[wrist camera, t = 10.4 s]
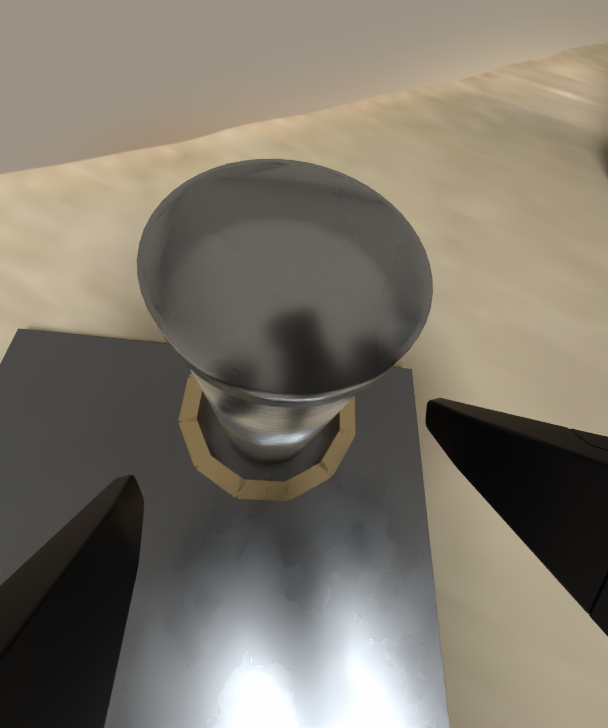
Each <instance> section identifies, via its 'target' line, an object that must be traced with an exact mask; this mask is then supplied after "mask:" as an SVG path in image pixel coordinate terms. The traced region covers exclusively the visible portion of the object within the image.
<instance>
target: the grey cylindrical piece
mask: <svg viewBox="0 0 608 728" xmlns="http://www.w3.org/2000/svg"><path fill="white" fill-rule="evenodd" d="M137 274H138V280H139V285H140V289H141V293H142V296H143V298H144V301H145V303H146V306H147V308H148V310H149V312H150V314H151V315H152V317H153V319H154V320H155V322H156V324H157V325H158V327H159V329H160V330H161V332H162V333H163V335H164V337H165V338H166V340H167V342H168V343H169V345H170V347H171V348H172V350H173V351H174V352H175V353H176V355H177V356H178V357H179V358H180V359H181V361H182V362H183V363H184V364H185V365H186V366H187V367H188V368H190V370H191V372H192V374H193V375H194V377H195V379H196V381H197V382H198V384H199V386H200V388H201V389H202V391H203V393H204V395H205V396H206V398H207V400H208V402H209V403H210V405H211V407H212V409H213V410H214V412H215V414H216V416H217V418H218V419H219V421H220V423H221V425H222V426H223V428H224V430H225V432H226V433H227V435H228V437H229V439H230V440H231V442H232V444H233V445H234V447H235V448H236V449H237V450H238V451H239V452H240V453H241V454H242V455H243V456H245V457H246V458H248V459H250V460H252V461H255V462H258V463H263V464H276V463H280V462H284V461H286V460H289V459H290V458H292V457H294V456H295V455H297V454H298V453H299V452H300V451H301V450H302V449H303V448H304V447H305V446H306V445H307V444H308V443H309V442H310V441H311V440H312V439H313V438H314V437H315V436H316V435H317V434H318V433H319V432H320V431H321V430H322V429H323V428H324V427H325V426H326V425H327V424H328V423H329V422H330V421H331V420H332V419H333V418H334V417H335V416H336V414H337V413H338V412H339V411H340V410H341V409H342V408H343V407H344V406H345V405H346V404H347V403H348V402H349V401H350V400H351V399H352V398H353V397H354V396H355V395H356V394H357V393H358V392H360V391H362V390H364V389H365V388H367V387H368V386H369V385H371V384H372V383H374V382H375V381H377V380H378V379H379V378H380V377H381V376H382V375H383V374H384V373H385V372H386V371H387V370H388V369H389V368H390V367H392V366H393V365H394V364H395V363H396V362H397V361H398V360H399V359H400V358H401V357H402V356H403V355H404V354H405V353H406V352H407V351H408V350H409V349H410V348H411V346H412V345H413V344H414V342H415V341H416V340H417V338H418V337H419V335H420V333H421V331H422V329H423V327H424V326H425V324H426V321H427V318H428V315H429V312H430V308H431V302H432V295H433V285H432V274H431V268H430V264H429V260H428V257H427V254H426V251H425V249H424V247H423V245H422V243H421V241H420V239H419V237H418V235H417V234H416V232H415V231H414V229H413V228H412V226H411V225H410V223H409V222H408V221H407V220H406V219H405V217H404V216H403V215H402V214H401V213H400V212H399V211H398V210H397V209H396V208H395V207H394V206H393V205H392V204H391V203H390V202H389V201H387V200H386V199H385V198H384V197H383V196H381V195H380V194H379V193H377V192H376V191H374V190H373V189H371V188H370V187H368V186H367V185H365V184H363V183H361V182H359V181H358V180H356V179H354V178H352V177H350V176H347V175H345V174H343V173H340V172H338V171H335V170H332V169H329V168H326V167H323V166H319V165H315V164H311V163H307V162H300V161H294V160H283V159H256V160H246V161H240V162H235V163H230V164H226V165H223V166H219V167H216V168H213V169H210V170H208V171H206V172H203V173H201V174H199V175H197V176H195V177H193V178H191V179H190V180H188V181H186V182H184V183H183V184H182V185H180V186H179V187H178V188H176V189H175V190H174V191H172V192H171V193H170V194H169V195H168V196H167V197H166V198H165V199H164V200H163V201H162V202H161V203H160V204H159V206H158V207H157V208H156V210H155V211H154V212H153V214H152V215H151V217H150V219H149V221H148V223H147V224H146V226H145V228H144V231H143V234H142V237H141V240H140V243H139V249H138V256H137Z"/></svg>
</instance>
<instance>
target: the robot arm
mask: <svg viewBox="0 0 608 728" xmlns="http://www.w3.org/2000/svg"><path fill="white" fill-rule="evenodd" d="M426 426H427V428H428V430H429V431H430V433H431V434H432V435H433V437H434V438H435V439H436V441H437V442H438V443H439V445H440V446H441V447H442V449H443V450H444V452H445V453H446V454H447V456H448V457H449V458H450V460H451V461H452V462H453V463H454V465H455V466H456V467H457V468H458V470H459V471H460V472H461V473H462V474H463V475H464V476H465V477H466V479H467V480H468V481H469V482H470V483H471V484H472V485H473V486H474V487H475V489H476V490H477V491H478V492H479V493H480V494H481V495H482V496H483V498H484V499H485V500H486V501H487V502H488V503H489V504H490V505H491V506H492V508H493V509H494V510H495V511H496V512H497V513H498V514H499V515H500V516H501V518H502V519H503V520H504V521H505V522H506V523H507V524H508V525H509V527H510V528H511V529H512V530H513V531H514V532H515V533H516V534H517V535H518V537H519V538H520V539H521V540H522V541H523V542H524V543H525V544H526V545H527V547H528V548H529V549H530V550H531V551H532V552H533V553H534V554H535V556H536V557H537V558H538V559H539V560H540V561H541V562H542V563H543V564H544V566H545V567H546V568H547V569H548V570H549V571H550V572H551V573H552V574H553V576H554V577H555V578H556V579H557V580H558V581H559V582H560V583H561V585H562V586H563V587H564V588H565V589H566V590H567V591H568V592H569V593H570V595H571V596H572V597H573V598H574V599H575V600H576V601H577V602H578V604H579V605H580V606H581V607H582V608H583V609H584V610H585V611H586V612H587V613H588V614H589V616H590V617H591V618H592V619H593V621H594V622H595V623H596V624H597V625H598V626H599V627H600V628H601V629H602V631H603V632H604V633H605V634H606V635H607V636H608V437H606V436H602V435H597V434H593V433H589V432H584V431H580V430H576V429H569V428H567V427H563V426H558V425H554V424H550V423H546V422H541V421H537V420H533V419H528V418H524V417H520V416H516V415H511V414H507V413H503V412H499V411H494V410H490V409H486V408H482V407H477V406H473V405H469V404H464V403H460V402H456V401H452V400H447V399H443V398H437V399H433V400H430V401H428V403H427V409H426ZM143 516H144V498H143V495H142V492H141V490H140V487H139V485H138V482H137V480H136V478H135V476H134V475H127V476H123V477H119V478H116V479H114V480H113V481H112V482H111V483H110V484H109V485H108V486H107V487H106V488H105V489H103V490H102V491H101V492H100V493H99V494H98V495H97V496H96V497H95V498H94V499H93V500H92V501H91V502H89V503H88V504H87V505H86V506H85V507H84V508H83V509H82V510H81V511H80V512H79V513H78V514H76V515H75V516H74V517H73V518H72V519H71V520H70V521H69V522H68V523H67V524H66V525H65V526H64V527H62V528H61V529H60V530H59V531H58V532H57V533H56V534H55V535H54V536H53V537H52V538H51V539H49V540H48V541H47V542H46V543H45V544H44V545H43V546H42V547H41V548H40V549H39V550H38V551H37V552H35V553H34V554H33V555H32V556H31V557H30V558H29V559H28V560H27V561H26V562H25V563H24V564H22V565H21V566H20V567H19V568H18V569H17V570H16V571H15V572H14V573H13V574H12V575H11V576H10V577H8V578H7V579H6V580H5V581H4V582H3V583H2V584H1V585H0V728H105V723H106V718H107V714H108V709H109V704H110V699H111V695H112V690H113V685H114V680H115V676H116V671H117V666H118V661H119V656H120V652H121V647H122V642H123V637H124V633H125V628H126V623H127V618H128V614H129V609H130V604H131V599H132V595H133V590H134V585H135V580H136V576H137V570H138V565H139V557H140V547H141V537H142V526H143Z"/></svg>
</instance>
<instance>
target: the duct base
mask: <svg viewBox="0 0 608 728" xmlns="http://www.w3.org/2000/svg"><path fill="white" fill-rule="evenodd" d="M127 475H134V476H135V478H136V480H137V482H138V485H139V487H140V490H141V492H142V495H143V498H144V516H143V526H142V537H141V547H140V557H139V565H138V570H137V576H136V580H135V585H134V590H133V595H132V599H131V604H130V609H129V614H128V618H127V623H126V628H125V633H124V637H123V642H122V647H121V652H120V656H119V661H118V666H117V671H116V676H115V680H114V685H113V690H112V695H111V699H110V704H109V709H108V714H107V718H106V723H105V728H449V720H448V710H447V701H446V691H445V682H444V672H443V663H442V653H441V644H440V634H439V625H438V615H437V606H436V596H435V587H434V577H433V568H432V558H431V549H430V540H429V530H428V521H427V511H426V502H425V492H424V483H423V473H422V464H421V454H420V445H419V435H418V426H417V416H416V407H415V397H414V388H413V378H412V369H406V368H396V367H390V368H389V369H388V370H387V371H386V372H385V373H384V374H383V375H382V376H381V377H380V378H379V379H378V380H377V381H375V382H374V383H372V384H371V385H369V386H368V387H367V388H365V389H364V390H362V391H360V392H358V393H357V394H356V395H355V396H354V397H353V398H352V399H351V400H350V401H349V402H348V403H347V404H346V405H345V406H344V407H343V408H342V409H341V410H340V411H339V412H338V413H337V414H336V416H335V417H334V418H333V419H332V420H331V421H330V422H329V423H328V424H327V425H326V426H325V427H324V428H323V429H322V430H321V431H320V432H319V433H318V434H317V435H316V436H315V437H314V438H313V439H312V440H311V441H310V442H309V443H308V444H307V445H306V446H305V447H304V448H303V449H302V450H301V451H300V452H299V453H298V454H297V455H295V456H294V457H292V458H290V459H289V460H286V461H284V462H280V463H276V464H263V463H258V462H255V461H252V460H250V459H248V458H246V457H245V456H243V455H242V454H241V453H240V452H239V451H238V450H237V449H236V448H235V447H234V445H233V444H232V442H231V440H230V439H229V437H228V435H227V433H226V432H225V430H224V428H223V426H222V425H221V423H220V421H219V419H218V418H217V416H216V414H215V412H214V410H213V409H212V407H211V405H210V403H209V402H208V400H207V398H206V396H205V395H204V393H203V391H202V389H201V388H200V386H199V384H198V382H197V381H196V379H195V377H194V375H193V374H192V372H191V370H190V368H188V367H187V366H186V365H185V364H184V363H183V362H182V361H181V359H180V358H179V357H178V356H177V355H176V353H175V352H174V351H173V350H172V348H171V347H170V345H169V344H163V343H153V342H143V341H134V340H124V339H114V338H104V337H95V336H85V335H75V334H66V333H56V332H46V331H36V330H27V329H18V330H17V332H16V334H15V336H14V338H13V340H12V342H11V344H10V346H9V348H8V350H7V352H6V354H5V356H4V358H3V360H2V362H1V364H0V585H1V584H2V583H3V582H4V581H5V580H6V579H7V578H8V577H10V576H11V575H12V574H13V573H14V572H15V571H16V570H17V569H18V568H19V567H20V566H21V565H22V564H24V563H25V562H26V561H27V560H28V559H29V558H30V557H31V556H32V555H33V554H34V553H35V552H37V551H38V550H39V549H40V548H41V547H42V546H43V545H44V544H45V543H46V542H47V541H48V540H49V539H51V538H52V537H53V536H54V535H55V534H56V533H57V532H58V531H59V530H60V529H61V528H62V527H64V526H65V525H66V524H67V523H68V522H69V521H70V520H71V519H72V518H73V517H74V516H75V515H76V514H78V513H79V512H80V511H81V510H82V509H83V508H84V507H85V506H86V505H87V504H88V503H89V502H91V501H92V500H93V499H94V498H95V497H96V496H97V495H98V494H99V493H100V492H101V491H102V490H103V489H105V488H106V487H107V486H108V485H109V484H110V483H111V482H112V481H113V480H114V479H116V478H119V477H123V476H127Z"/></svg>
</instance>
